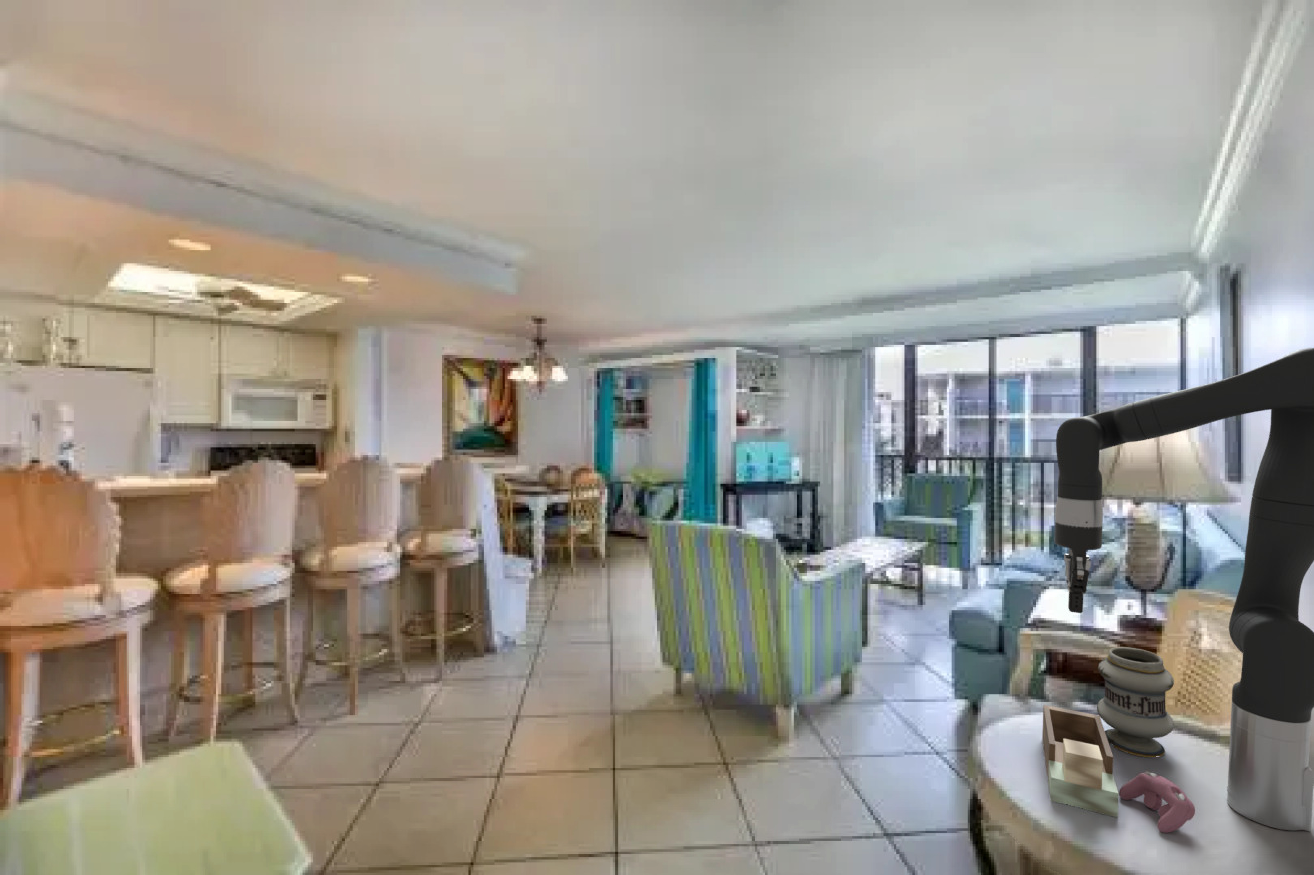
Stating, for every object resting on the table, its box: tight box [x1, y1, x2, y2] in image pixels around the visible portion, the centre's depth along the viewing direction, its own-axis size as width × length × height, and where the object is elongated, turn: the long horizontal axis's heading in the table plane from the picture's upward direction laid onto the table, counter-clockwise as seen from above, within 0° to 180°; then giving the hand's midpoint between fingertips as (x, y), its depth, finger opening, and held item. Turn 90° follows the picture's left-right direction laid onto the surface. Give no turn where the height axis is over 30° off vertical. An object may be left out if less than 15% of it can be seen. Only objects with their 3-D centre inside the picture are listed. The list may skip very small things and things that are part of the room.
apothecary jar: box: [1096, 646, 1175, 758], centre depth 124 cm, size 12×12×18 cm
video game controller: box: [1118, 771, 1196, 834], centre depth 103 cm, size 10×5×7 cm, turn 0°
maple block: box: [1062, 738, 1103, 790], centre depth 106 cm, size 5×5×5 cm
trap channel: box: [1041, 704, 1119, 818], centre depth 114 cm, size 9×22×7 cm, turn 152°
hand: (1075, 611), depth 122 cm, fingers closed
